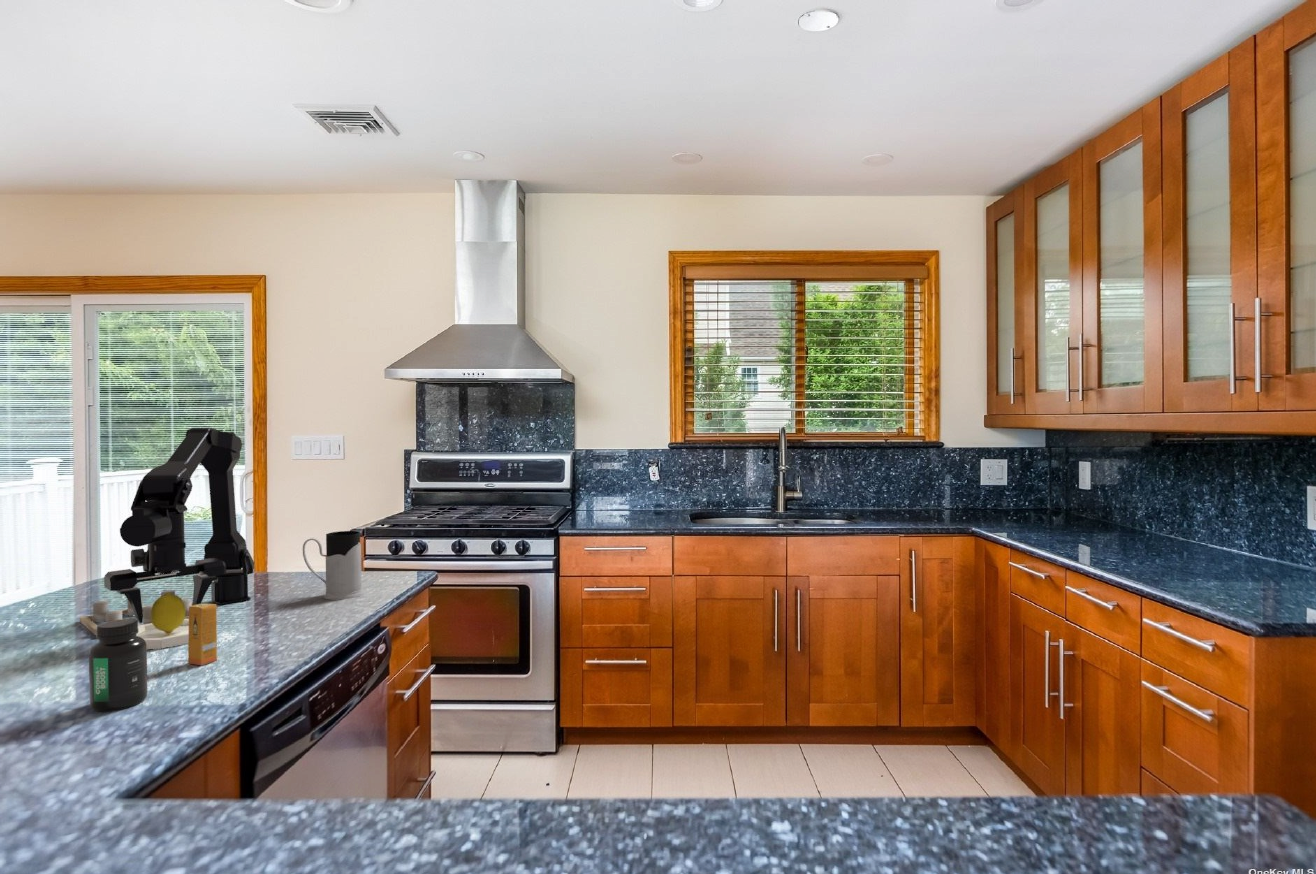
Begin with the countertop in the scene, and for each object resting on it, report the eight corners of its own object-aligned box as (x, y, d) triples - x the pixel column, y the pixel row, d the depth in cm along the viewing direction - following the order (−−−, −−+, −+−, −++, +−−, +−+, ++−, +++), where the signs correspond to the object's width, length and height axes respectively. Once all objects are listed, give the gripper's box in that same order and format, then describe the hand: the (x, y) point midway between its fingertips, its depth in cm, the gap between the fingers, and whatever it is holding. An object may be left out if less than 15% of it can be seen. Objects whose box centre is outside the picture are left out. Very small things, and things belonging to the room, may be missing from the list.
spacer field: (180, 604, 161) (179, 587, 161) (205, 618, 149) (204, 600, 149) (80, 621, 148) (79, 602, 148) (98, 638, 136) (98, 618, 136)
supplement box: (219, 660, 123) (218, 603, 123) (201, 666, 120) (199, 608, 120) (205, 658, 124) (204, 601, 124) (186, 664, 121) (185, 606, 121)
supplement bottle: (101, 716, 100) (99, 632, 99) (81, 706, 103) (79, 625, 103) (156, 700, 106) (154, 620, 105) (135, 691, 109) (133, 614, 109)
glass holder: (353, 599, 165) (353, 536, 165) (294, 599, 165) (293, 536, 165) (369, 590, 174) (368, 530, 174) (312, 590, 174) (312, 530, 174)
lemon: (192, 629, 139) (191, 589, 138) (170, 638, 133) (169, 596, 133) (166, 629, 139) (166, 589, 139) (143, 637, 134) (142, 596, 134)
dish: (198, 623, 146) (198, 614, 146) (221, 636, 137) (221, 627, 137) (115, 639, 135) (115, 630, 135) (133, 654, 126) (133, 645, 126)
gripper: (208, 527, 148) (209, 601, 148) (96, 539, 134) (98, 620, 134) (226, 533, 141) (227, 610, 141) (110, 545, 127) (112, 631, 127)
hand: (168, 617), depth 136 cm, fingers open, 9 cm apart
